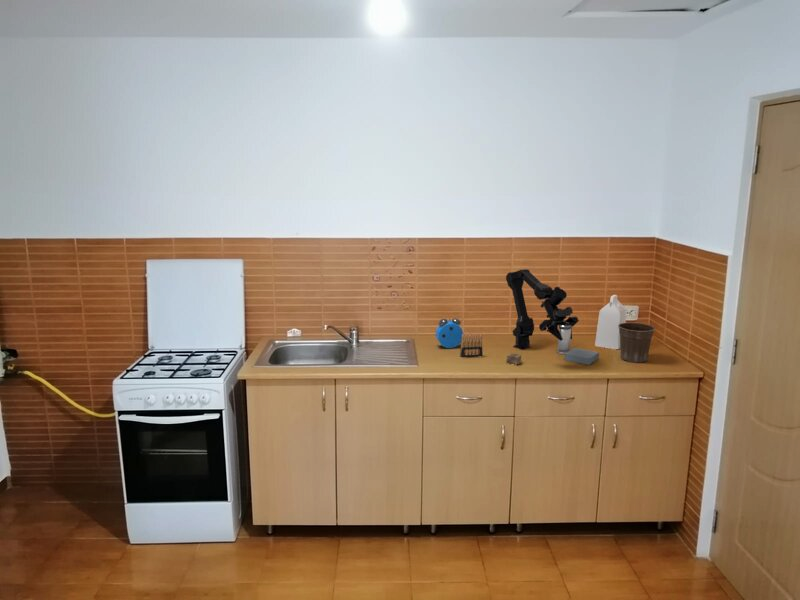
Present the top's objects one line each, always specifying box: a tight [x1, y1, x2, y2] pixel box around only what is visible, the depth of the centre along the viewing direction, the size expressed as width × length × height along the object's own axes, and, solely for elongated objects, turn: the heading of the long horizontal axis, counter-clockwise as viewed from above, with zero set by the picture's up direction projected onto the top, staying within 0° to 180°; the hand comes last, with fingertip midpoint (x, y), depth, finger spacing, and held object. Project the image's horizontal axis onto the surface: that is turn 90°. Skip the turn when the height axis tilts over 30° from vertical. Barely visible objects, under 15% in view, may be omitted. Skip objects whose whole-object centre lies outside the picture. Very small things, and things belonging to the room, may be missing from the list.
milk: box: [594, 294, 627, 350], centre depth 308 cm, size 12×12×26 cm
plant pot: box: [618, 322, 656, 363], centre depth 287 cm, size 16×16×16 cm
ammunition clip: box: [459, 332, 483, 358], centre depth 291 cm, size 11×2×12 cm, turn 98°
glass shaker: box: [556, 324, 573, 356], centre depth 275 cm, size 6×6×13 cm
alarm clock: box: [435, 317, 464, 349], centre depth 305 cm, size 13×6×15 cm, turn 100°
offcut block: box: [506, 352, 522, 366], centre depth 282 cm, size 5×5×4 cm
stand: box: [564, 347, 600, 366], centre depth 288 cm, size 12×12×3 cm
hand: (566, 339), depth 274 cm, fingers closed on glass shaker, 5 cm apart
